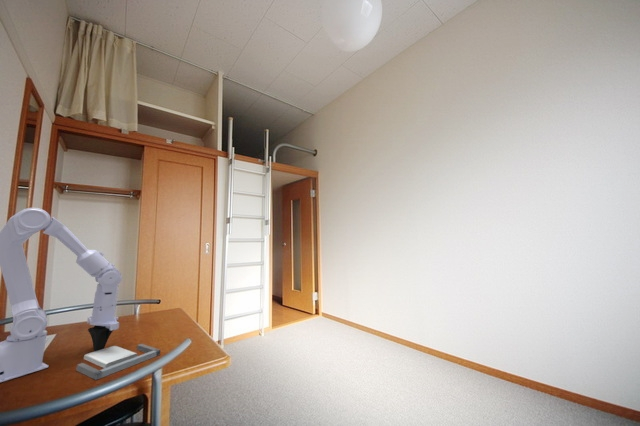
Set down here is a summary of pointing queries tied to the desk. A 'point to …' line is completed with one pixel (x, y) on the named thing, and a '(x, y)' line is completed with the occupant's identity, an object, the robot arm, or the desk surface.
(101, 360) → the hard drive
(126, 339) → the desk surface
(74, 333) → the desk surface
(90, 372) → the drive bay
